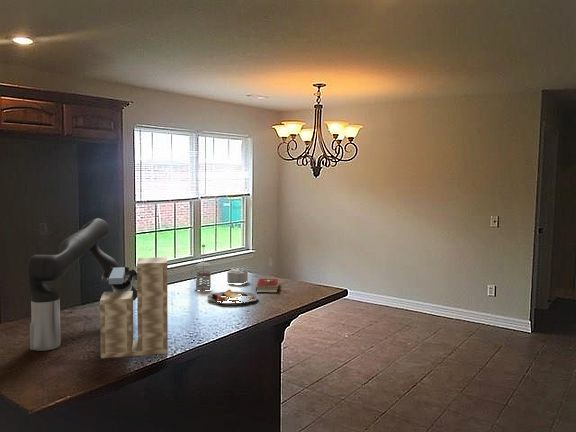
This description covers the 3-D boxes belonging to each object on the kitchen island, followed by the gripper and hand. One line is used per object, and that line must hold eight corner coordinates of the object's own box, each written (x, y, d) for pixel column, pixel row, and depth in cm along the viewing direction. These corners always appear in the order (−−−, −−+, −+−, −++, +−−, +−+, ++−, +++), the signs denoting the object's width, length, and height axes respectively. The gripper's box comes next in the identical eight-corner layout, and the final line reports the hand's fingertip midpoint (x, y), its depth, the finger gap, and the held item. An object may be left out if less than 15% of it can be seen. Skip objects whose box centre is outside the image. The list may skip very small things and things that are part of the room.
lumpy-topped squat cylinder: (225, 284, 290) (225, 269, 290) (236, 280, 302) (236, 266, 302) (240, 286, 286) (241, 271, 286) (251, 282, 298) (251, 267, 297)
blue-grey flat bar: (108, 284, 169) (108, 278, 169) (113, 272, 188) (113, 267, 188) (122, 283, 170) (122, 278, 170) (125, 272, 189) (125, 267, 189)
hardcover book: (255, 293, 270) (255, 285, 270) (258, 285, 291) (258, 278, 291) (278, 293, 270) (278, 286, 270) (278, 285, 291) (278, 278, 291)
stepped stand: (100, 358, 170) (99, 264, 168) (104, 346, 181) (103, 258, 179) (167, 353, 175) (167, 262, 173) (167, 342, 187) (166, 257, 185)
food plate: (198, 299, 252) (198, 293, 252) (233, 293, 269) (233, 286, 269) (231, 310, 235) (231, 303, 235) (266, 302, 252) (266, 295, 252)
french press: (210, 292, 270) (211, 245, 268) (189, 291, 270) (189, 245, 268) (213, 288, 280) (214, 243, 278) (193, 287, 280) (193, 243, 278)
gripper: (102, 275, 198) (98, 259, 183) (140, 273, 201) (139, 258, 186) (102, 293, 195) (97, 279, 180) (140, 292, 198) (139, 278, 183)
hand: (118, 269), depth 183 cm, fingers closed on blue-grey flat bar, 4 cm apart
